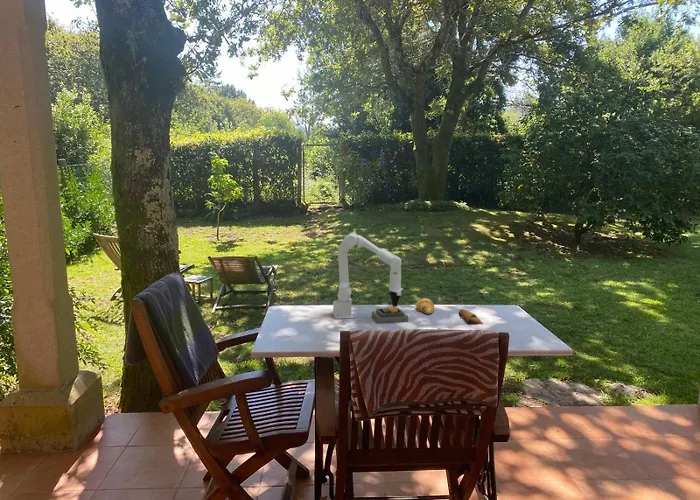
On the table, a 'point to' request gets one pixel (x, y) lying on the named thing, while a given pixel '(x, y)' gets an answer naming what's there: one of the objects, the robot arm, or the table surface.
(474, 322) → the brown pointed cylinder
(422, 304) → the croissant
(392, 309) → the breaker switch
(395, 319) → the breaker box
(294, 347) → the table surface
